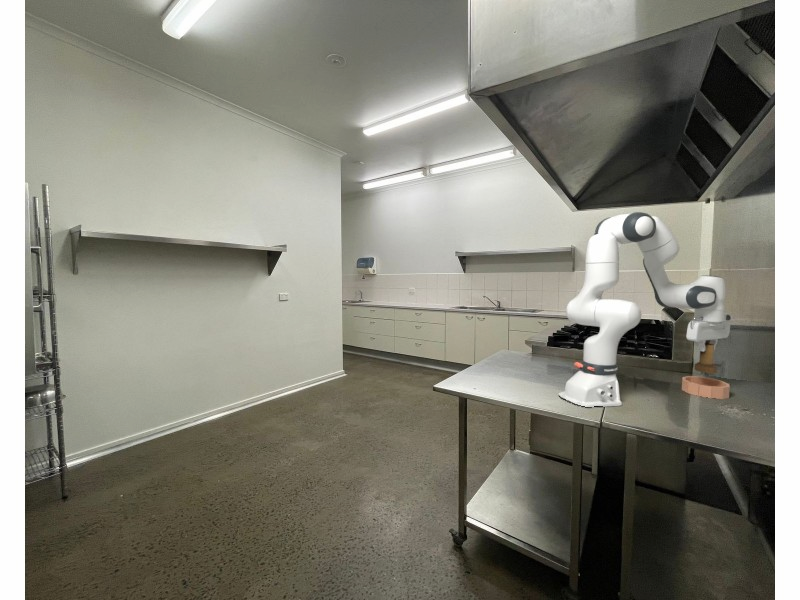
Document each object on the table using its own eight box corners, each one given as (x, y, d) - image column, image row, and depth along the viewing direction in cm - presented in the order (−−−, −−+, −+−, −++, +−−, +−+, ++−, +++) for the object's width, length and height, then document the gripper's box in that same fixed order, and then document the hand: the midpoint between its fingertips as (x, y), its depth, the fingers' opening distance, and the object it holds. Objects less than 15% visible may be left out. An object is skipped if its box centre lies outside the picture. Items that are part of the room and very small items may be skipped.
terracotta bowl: (714, 400, 126) (714, 389, 125) (673, 388, 139) (674, 378, 138) (737, 396, 130) (738, 384, 130) (695, 385, 143) (696, 374, 143)
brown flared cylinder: (721, 373, 130) (724, 328, 129) (704, 373, 131) (707, 328, 129) (706, 368, 137) (708, 325, 136) (690, 368, 137) (692, 325, 136)
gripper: (700, 318, 126) (698, 354, 127) (734, 315, 132) (732, 349, 133) (682, 316, 132) (680, 351, 133) (715, 314, 138) (713, 346, 139)
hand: (706, 350), depth 133 cm, fingers closed on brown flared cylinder, 4 cm apart
